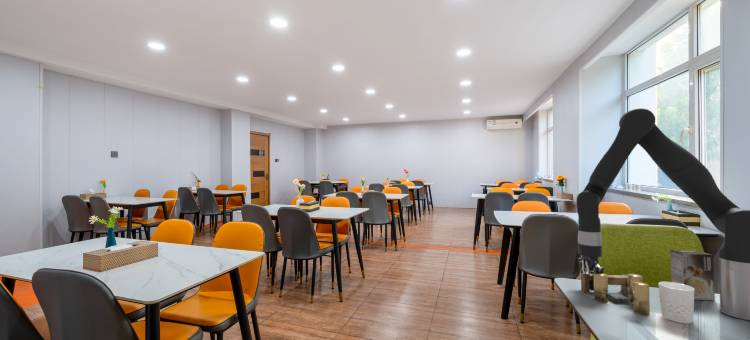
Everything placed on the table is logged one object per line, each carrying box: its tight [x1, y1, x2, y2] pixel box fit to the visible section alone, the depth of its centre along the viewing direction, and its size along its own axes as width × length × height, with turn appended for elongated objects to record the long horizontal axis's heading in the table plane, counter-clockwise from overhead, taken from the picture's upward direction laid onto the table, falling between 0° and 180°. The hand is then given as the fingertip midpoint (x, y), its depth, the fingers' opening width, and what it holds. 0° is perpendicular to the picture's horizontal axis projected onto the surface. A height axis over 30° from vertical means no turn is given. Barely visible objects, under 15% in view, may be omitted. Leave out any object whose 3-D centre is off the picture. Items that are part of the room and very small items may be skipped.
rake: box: [580, 273, 628, 295], centre depth 116 cm, size 16×5×6 cm, turn 82°
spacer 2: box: [626, 273, 644, 304], centre depth 107 cm, size 4×4×9 cm
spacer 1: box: [593, 272, 609, 303], centre depth 109 cm, size 4×4×9 cm
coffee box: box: [670, 249, 716, 301], centre depth 112 cm, size 9×6×16 cm
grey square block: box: [608, 293, 630, 305], centre depth 108 cm, size 4×4×2 cm
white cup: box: [658, 281, 695, 325], centre depth 94 cm, size 8×8×10 cm
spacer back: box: [632, 282, 651, 316], centre depth 99 cm, size 4×4×9 cm
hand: (590, 288), depth 117 cm, fingers closed on rake, 3 cm apart
